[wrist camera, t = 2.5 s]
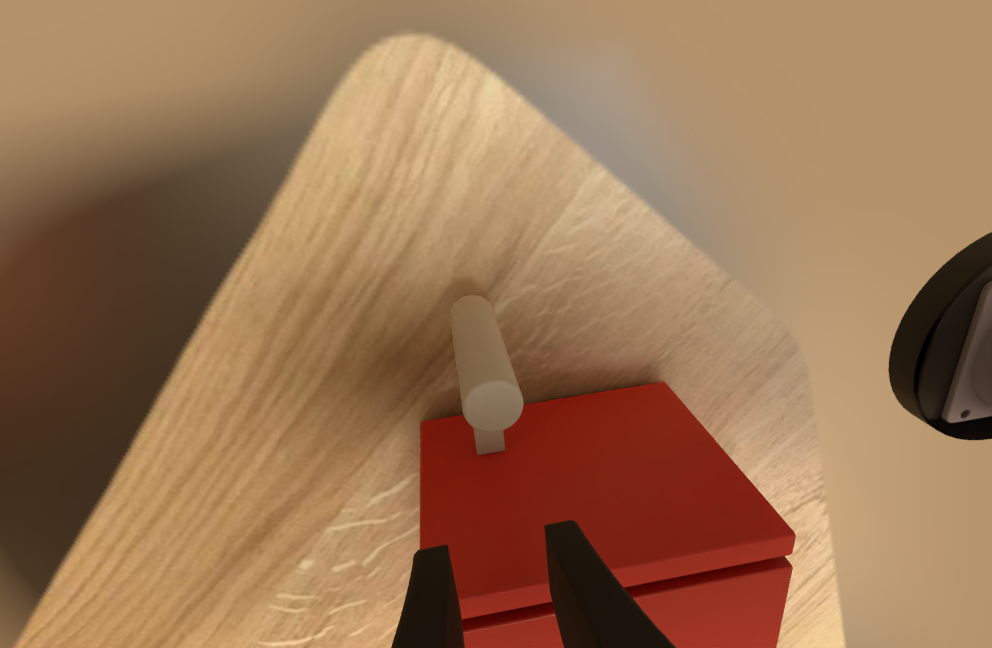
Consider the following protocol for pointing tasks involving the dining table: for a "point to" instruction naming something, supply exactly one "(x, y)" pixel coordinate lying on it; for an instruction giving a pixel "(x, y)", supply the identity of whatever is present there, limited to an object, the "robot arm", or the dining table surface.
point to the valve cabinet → (668, 611)
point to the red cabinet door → (577, 482)
